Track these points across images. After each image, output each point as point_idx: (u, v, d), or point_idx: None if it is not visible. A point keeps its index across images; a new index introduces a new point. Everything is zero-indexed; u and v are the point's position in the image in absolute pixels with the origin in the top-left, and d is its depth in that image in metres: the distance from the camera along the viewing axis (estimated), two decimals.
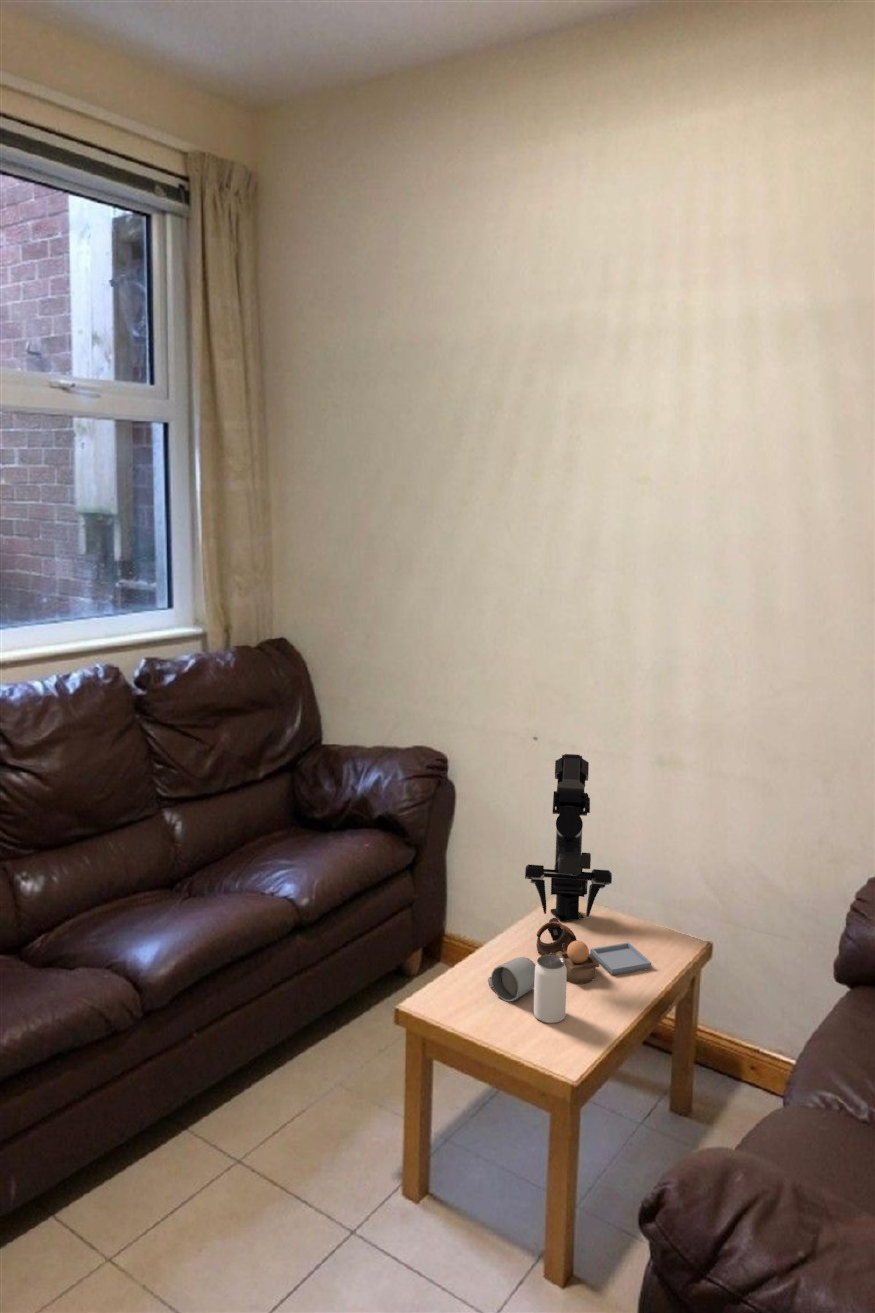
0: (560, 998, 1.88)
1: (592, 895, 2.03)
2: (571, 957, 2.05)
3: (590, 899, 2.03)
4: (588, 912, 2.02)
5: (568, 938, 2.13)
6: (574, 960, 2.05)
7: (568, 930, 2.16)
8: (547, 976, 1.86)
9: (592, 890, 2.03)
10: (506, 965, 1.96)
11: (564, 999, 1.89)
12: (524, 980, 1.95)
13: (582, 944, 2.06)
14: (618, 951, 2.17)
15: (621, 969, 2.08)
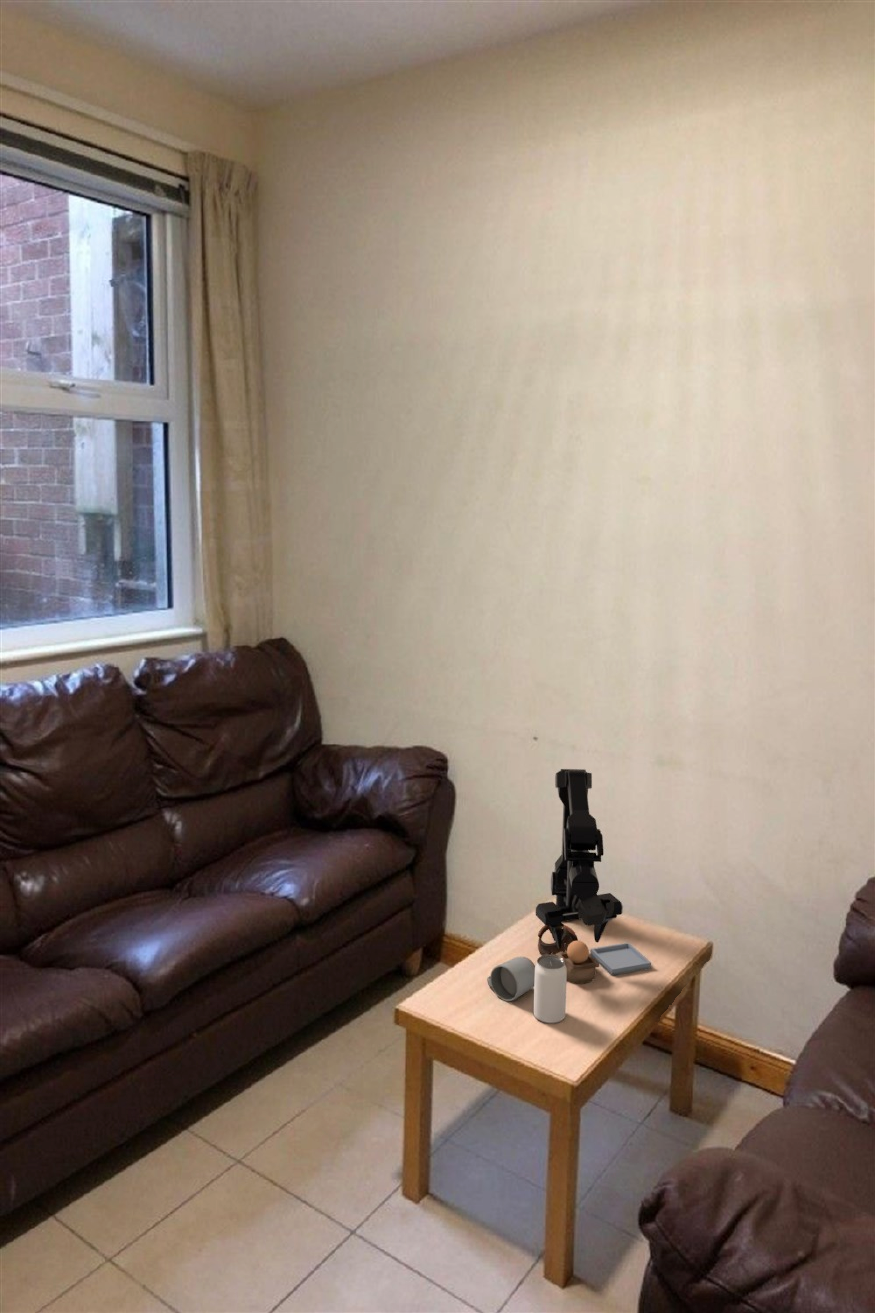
0: (560, 997, 1.88)
1: (603, 925, 2.06)
2: (571, 957, 2.05)
3: (601, 928, 2.06)
4: (598, 939, 2.07)
5: (569, 938, 2.13)
6: (574, 960, 2.05)
7: (569, 930, 2.15)
8: (547, 976, 1.86)
9: (604, 921, 2.05)
10: (505, 965, 1.96)
11: (564, 999, 1.89)
12: (523, 980, 1.95)
13: (582, 944, 2.06)
14: (618, 951, 2.17)
15: (621, 969, 2.08)
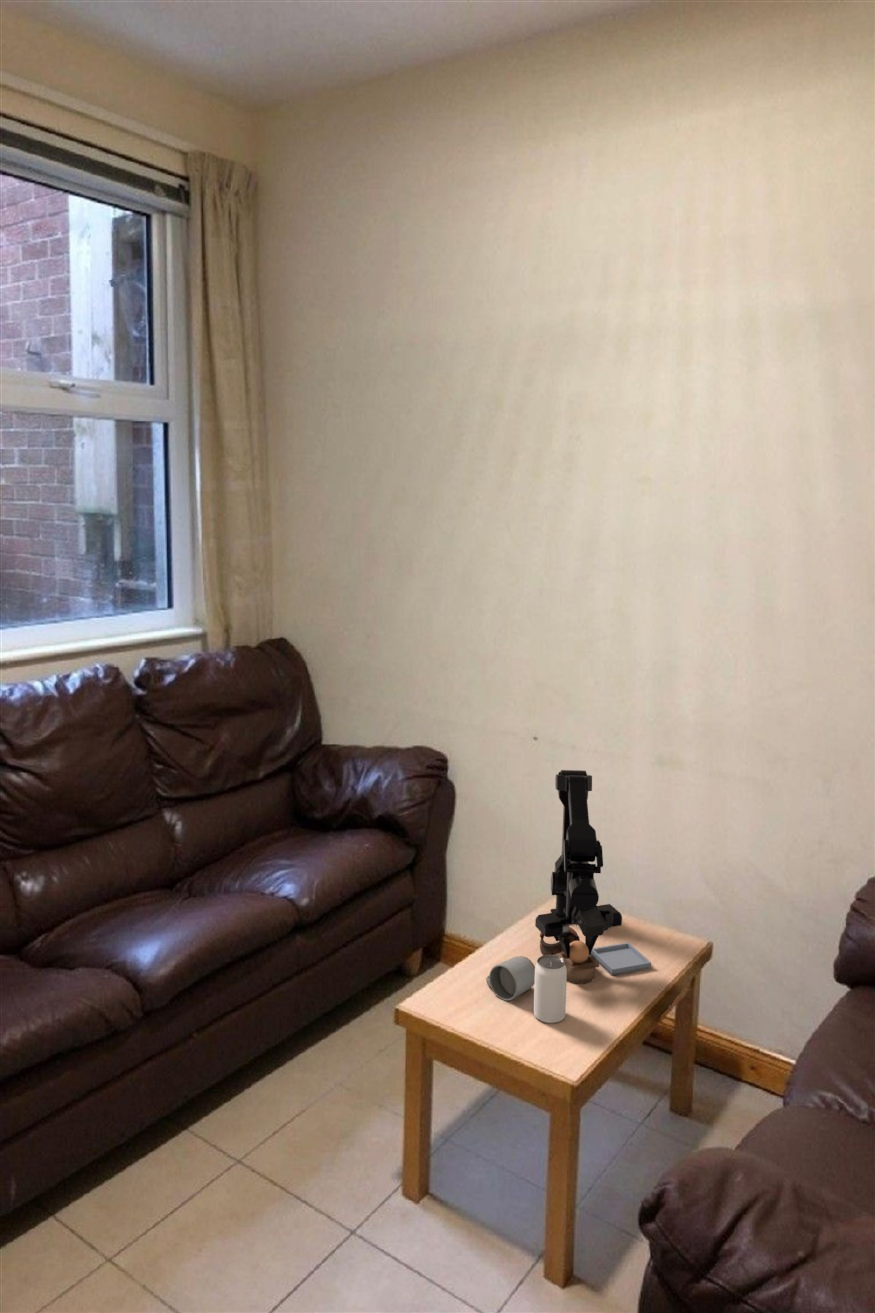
0: (560, 998, 1.88)
1: (595, 937, 2.06)
2: (571, 957, 2.05)
3: (592, 941, 2.06)
4: (590, 951, 2.07)
5: (571, 938, 2.13)
6: (574, 960, 2.05)
7: (571, 930, 2.15)
8: (547, 976, 1.86)
9: None
10: (504, 964, 1.97)
11: (564, 999, 1.89)
12: (522, 979, 1.96)
13: (582, 944, 2.06)
14: (618, 951, 2.17)
15: (621, 969, 2.08)
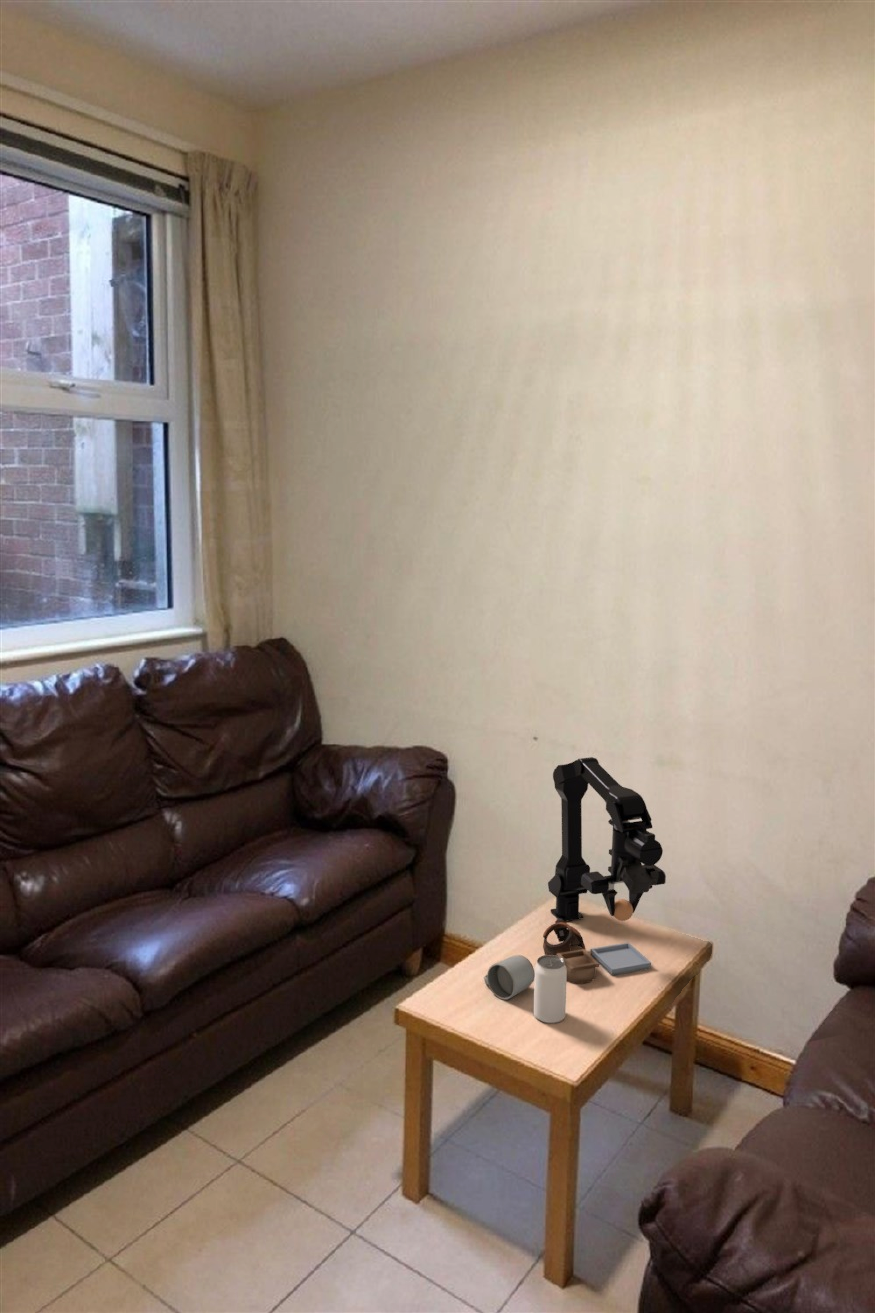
0: (560, 998, 1.88)
1: (639, 895, 2.10)
2: (616, 915, 2.09)
3: (637, 899, 2.10)
4: (634, 909, 2.11)
5: (575, 939, 2.13)
6: (619, 918, 2.09)
7: (575, 931, 2.15)
8: (547, 976, 1.86)
9: (640, 892, 2.10)
10: (502, 963, 1.97)
11: (564, 999, 1.89)
12: (520, 978, 1.96)
13: (627, 902, 2.10)
14: (618, 951, 2.17)
15: (621, 969, 2.08)
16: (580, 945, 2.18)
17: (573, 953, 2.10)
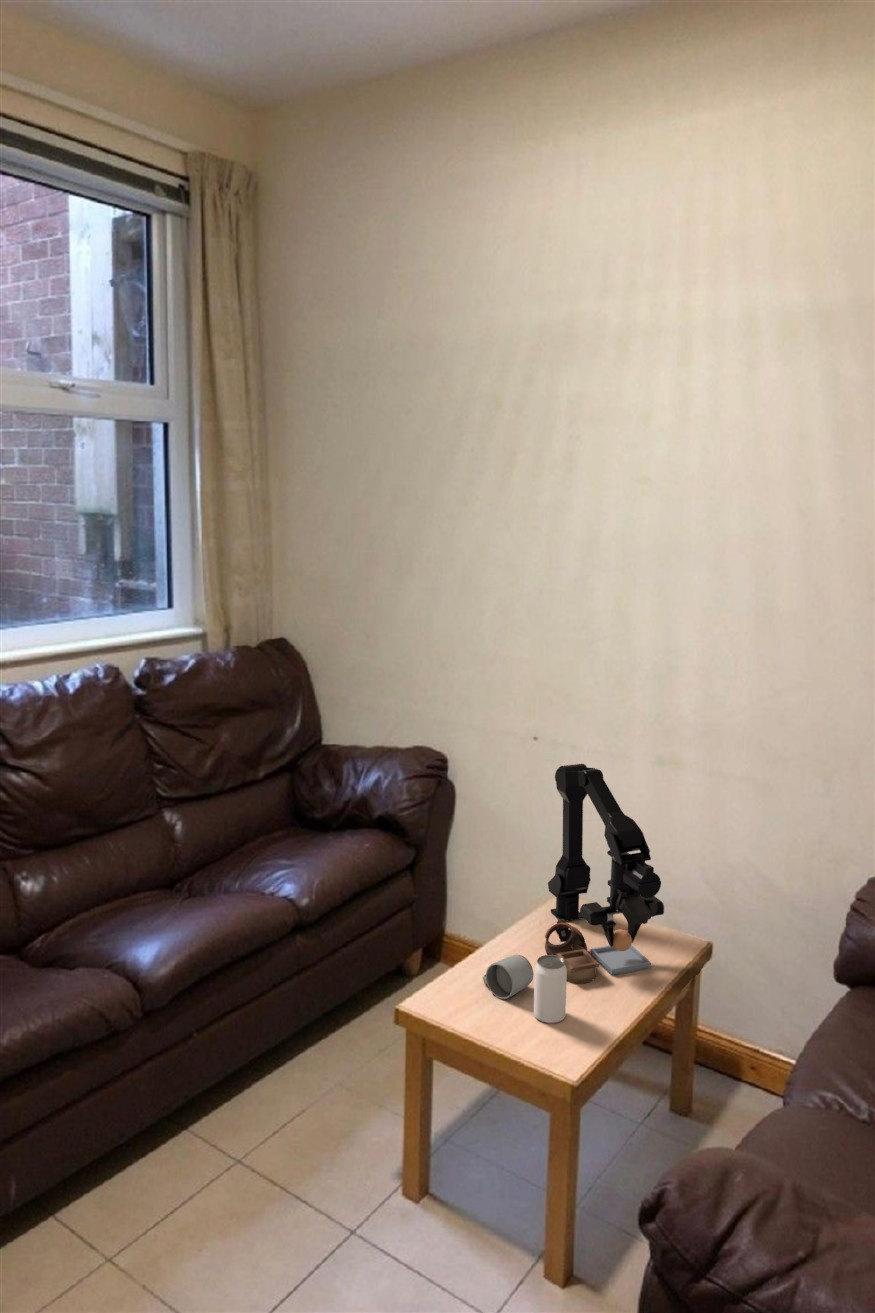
0: (560, 998, 1.88)
1: (637, 926, 2.11)
2: (615, 945, 2.11)
3: (635, 929, 2.12)
4: (632, 940, 2.13)
5: (577, 939, 2.13)
6: (618, 948, 2.11)
7: (577, 931, 2.15)
8: (547, 976, 1.86)
9: None
10: (501, 963, 1.97)
11: (564, 999, 1.89)
12: (518, 978, 1.96)
13: (625, 933, 2.11)
14: (618, 951, 2.17)
15: (621, 969, 2.08)
16: (582, 945, 2.18)
17: (573, 953, 2.10)
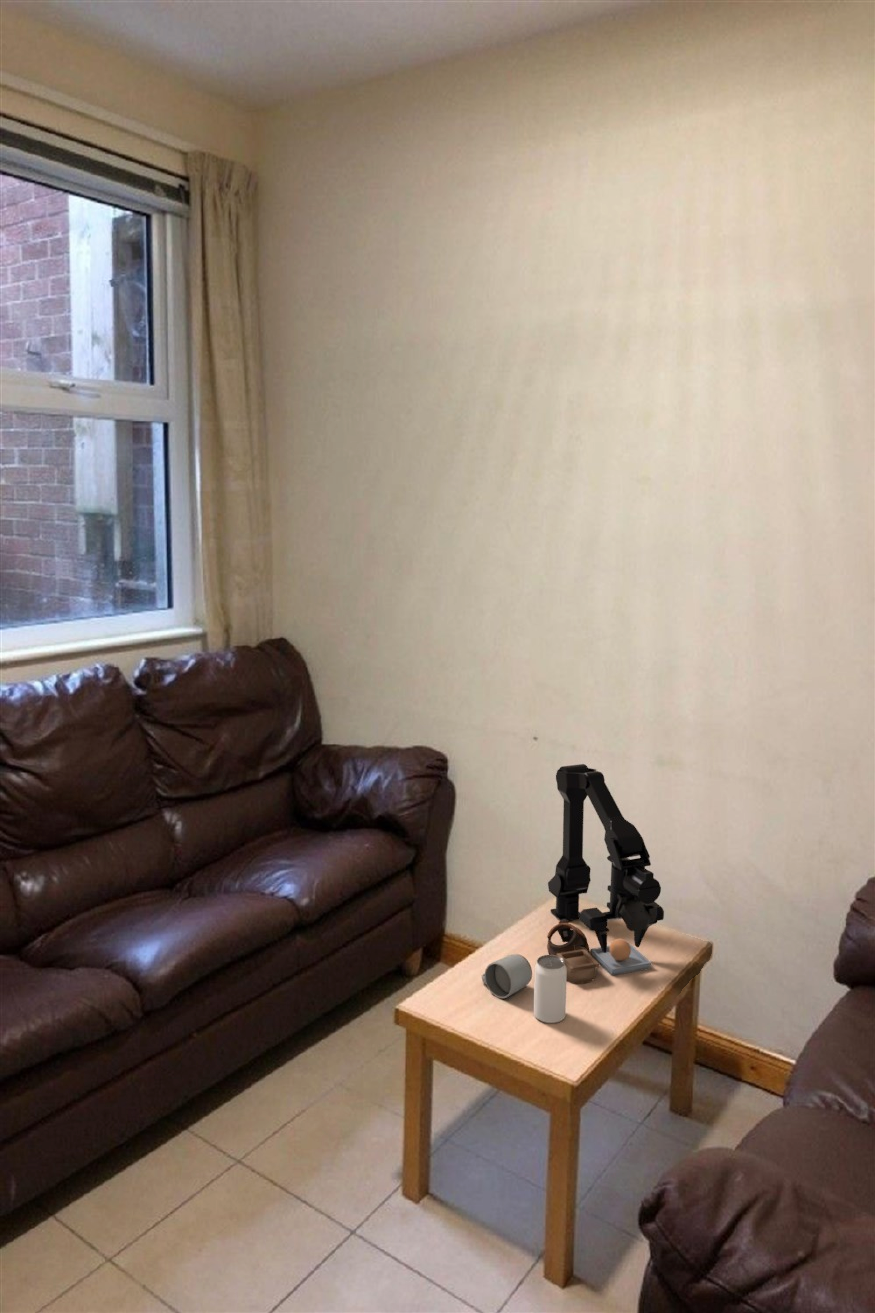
0: (560, 997, 1.88)
1: (644, 930, 2.12)
2: (614, 955, 2.11)
3: (642, 933, 2.12)
4: (639, 944, 2.13)
5: (579, 939, 2.13)
6: (617, 958, 2.11)
7: (579, 931, 2.15)
8: (547, 976, 1.86)
9: None
10: (499, 962, 1.97)
11: (564, 999, 1.89)
12: (517, 977, 1.96)
13: (624, 942, 2.11)
14: None
15: (621, 969, 2.08)
16: (584, 945, 2.18)
17: (573, 953, 2.10)
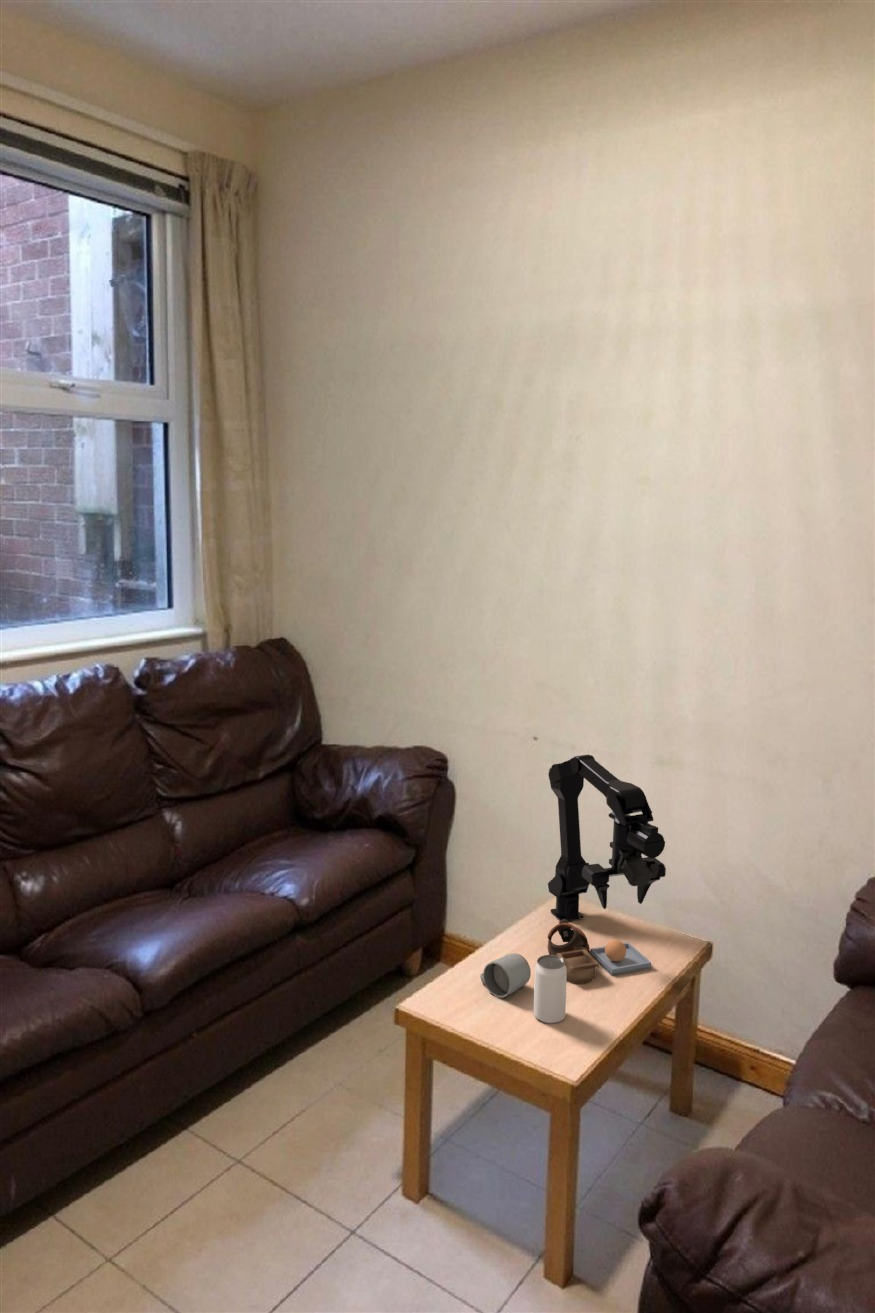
0: (560, 998, 1.88)
1: (647, 886, 2.13)
2: (611, 959, 2.11)
3: (645, 890, 2.14)
4: (642, 900, 2.14)
5: (580, 939, 2.13)
6: (615, 961, 2.11)
7: (579, 931, 2.15)
8: (547, 976, 1.86)
9: None
10: (498, 961, 1.98)
11: (564, 999, 1.89)
12: (516, 976, 1.97)
13: (615, 944, 2.11)
14: None
15: (621, 969, 2.08)
16: (584, 945, 2.18)
17: (573, 953, 2.10)
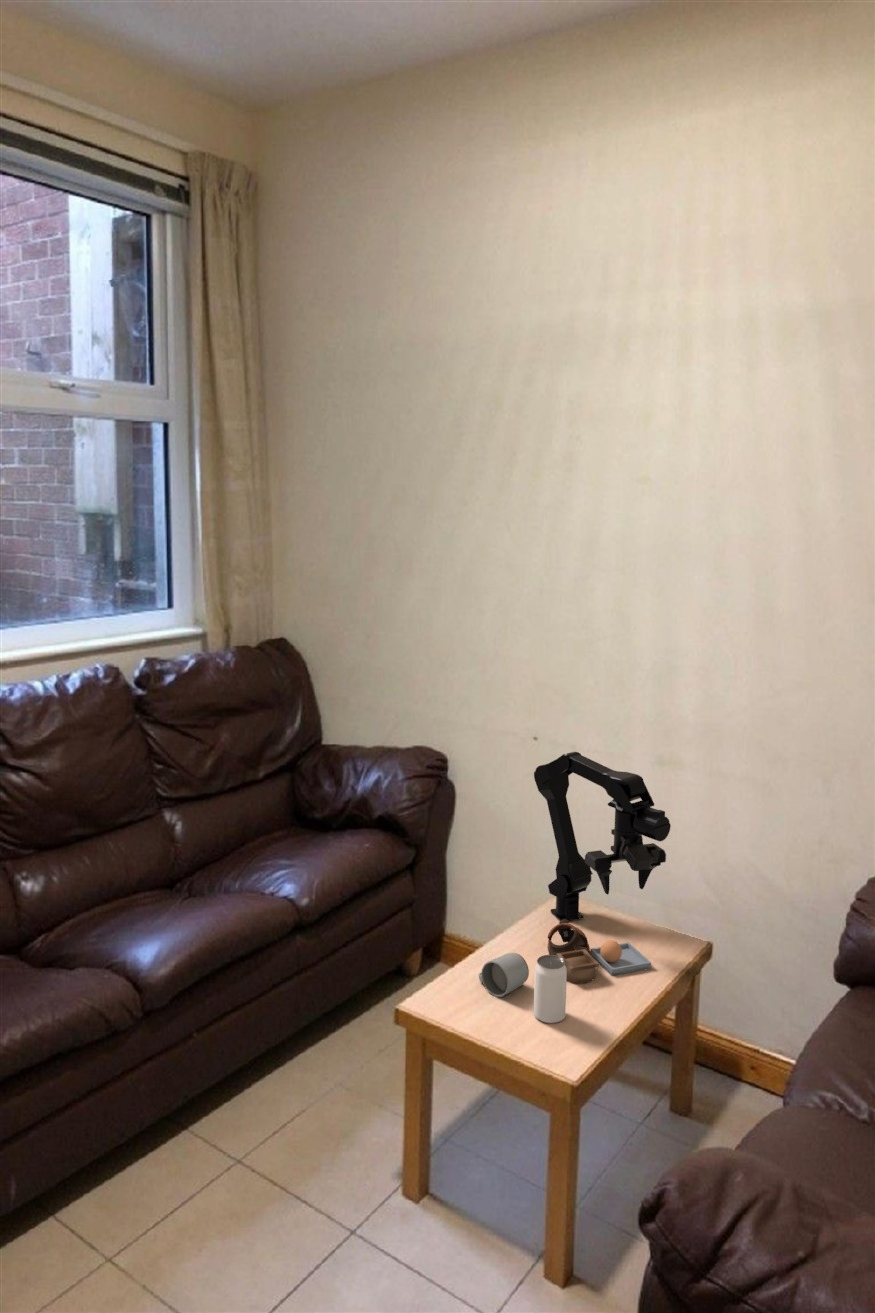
0: (560, 998, 1.88)
1: (648, 872, 2.20)
2: None
3: (646, 875, 2.20)
4: (643, 886, 2.21)
5: (580, 939, 2.13)
6: (614, 961, 2.11)
7: (579, 931, 2.15)
8: (547, 976, 1.86)
9: (649, 869, 2.19)
10: (496, 961, 1.98)
11: (564, 999, 1.89)
12: (514, 976, 1.97)
13: (607, 947, 2.10)
14: None
15: (621, 969, 2.08)
16: (584, 946, 2.18)
17: (573, 953, 2.10)
